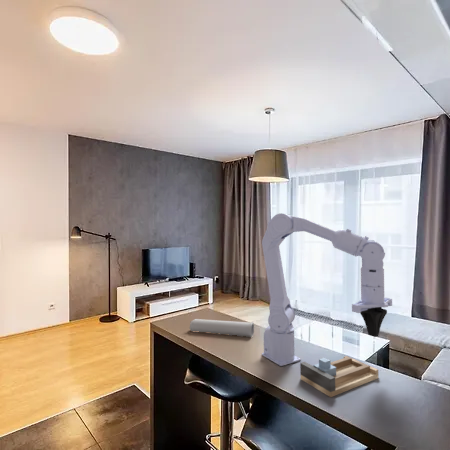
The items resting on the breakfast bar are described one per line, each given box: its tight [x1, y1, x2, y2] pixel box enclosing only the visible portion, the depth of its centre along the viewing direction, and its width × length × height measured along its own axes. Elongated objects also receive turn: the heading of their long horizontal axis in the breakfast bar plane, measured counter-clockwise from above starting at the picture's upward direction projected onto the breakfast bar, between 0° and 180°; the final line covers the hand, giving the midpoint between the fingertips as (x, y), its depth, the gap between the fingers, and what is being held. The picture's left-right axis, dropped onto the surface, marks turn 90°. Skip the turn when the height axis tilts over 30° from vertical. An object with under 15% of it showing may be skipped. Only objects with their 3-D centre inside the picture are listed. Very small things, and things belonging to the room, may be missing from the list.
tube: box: [189, 318, 255, 338], centre depth 115 cm, size 5×5×25 cm
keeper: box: [312, 357, 336, 376], centre depth 77 cm, size 4×4×5 cm
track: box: [299, 355, 379, 398], centre depth 80 cm, size 10×18×4 cm, turn 119°
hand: (373, 335), depth 82 cm, fingers closed
